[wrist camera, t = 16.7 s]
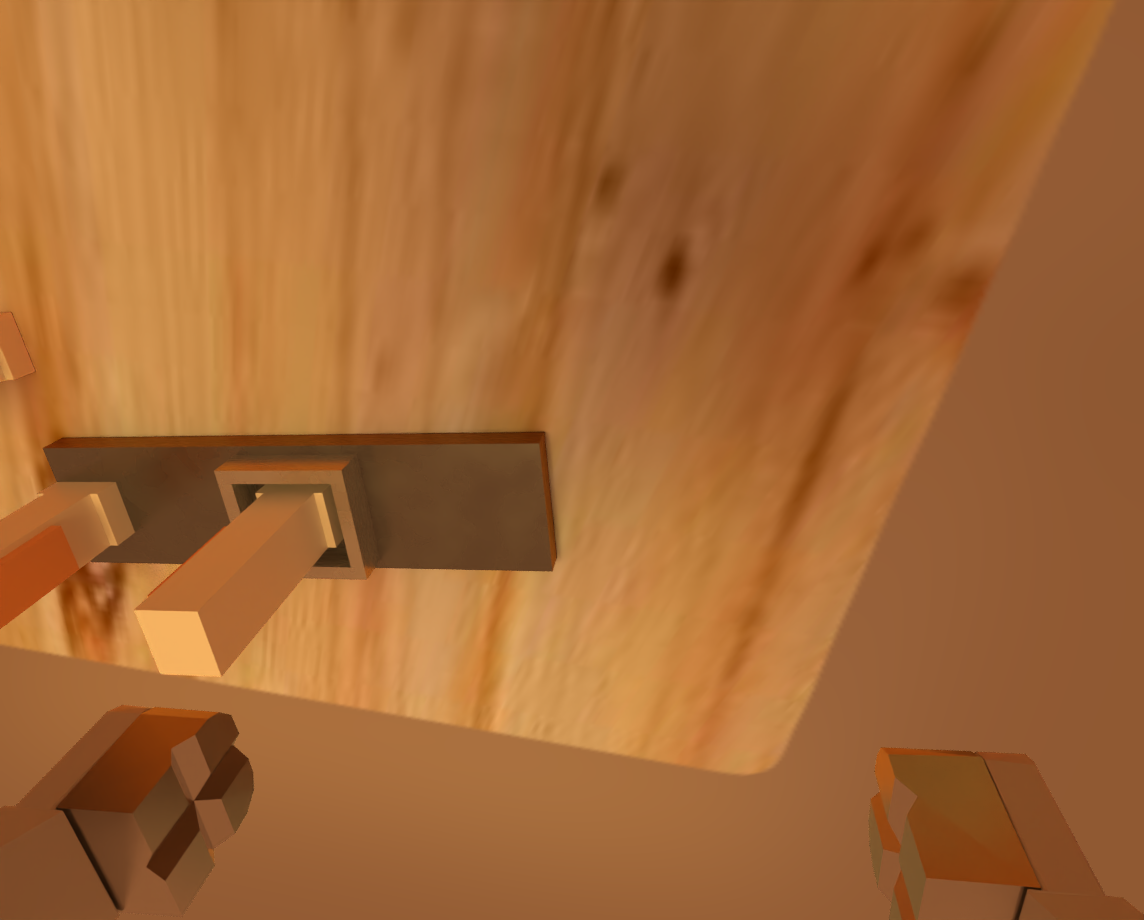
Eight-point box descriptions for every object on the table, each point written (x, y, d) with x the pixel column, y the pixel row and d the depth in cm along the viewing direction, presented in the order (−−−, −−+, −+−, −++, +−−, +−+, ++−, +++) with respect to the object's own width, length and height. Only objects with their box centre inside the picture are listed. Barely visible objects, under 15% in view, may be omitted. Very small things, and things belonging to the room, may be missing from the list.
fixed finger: (57, 481, 44) (-147, 602, 33) (116, 481, 43) (-72, 604, 33) (78, 531, 45) (-111, 662, 35) (136, 532, 45) (-38, 665, 34)
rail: (62, 437, 44) (14, 462, 41) (544, 432, 39) (531, 460, 36) (107, 549, 48) (67, 580, 45) (556, 556, 43) (546, 592, 40)
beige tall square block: (267, 480, 42) (121, 609, 31) (334, 480, 41) (208, 611, 30) (282, 533, 43) (148, 673, 32) (347, 533, 42) (231, 677, 32)
